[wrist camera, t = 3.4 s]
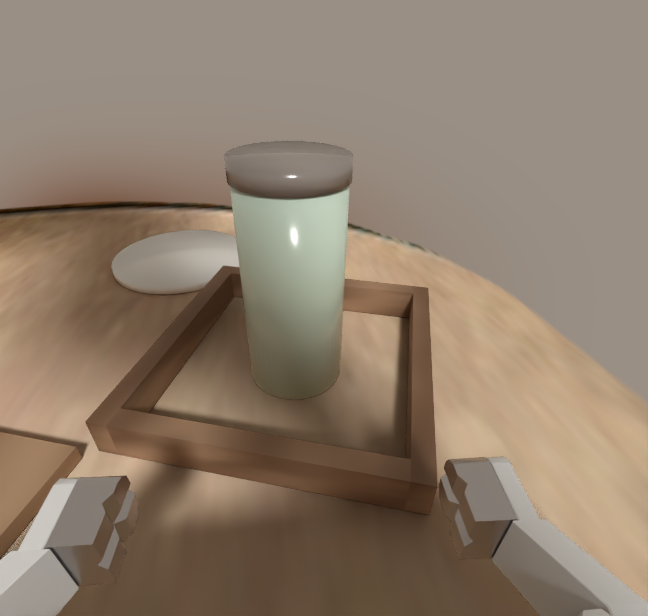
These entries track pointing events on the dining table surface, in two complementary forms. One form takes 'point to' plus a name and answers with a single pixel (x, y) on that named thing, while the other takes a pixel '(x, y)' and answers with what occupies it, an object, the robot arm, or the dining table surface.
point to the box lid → (28, 480)
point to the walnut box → (269, 450)
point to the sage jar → (292, 260)
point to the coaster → (174, 261)
